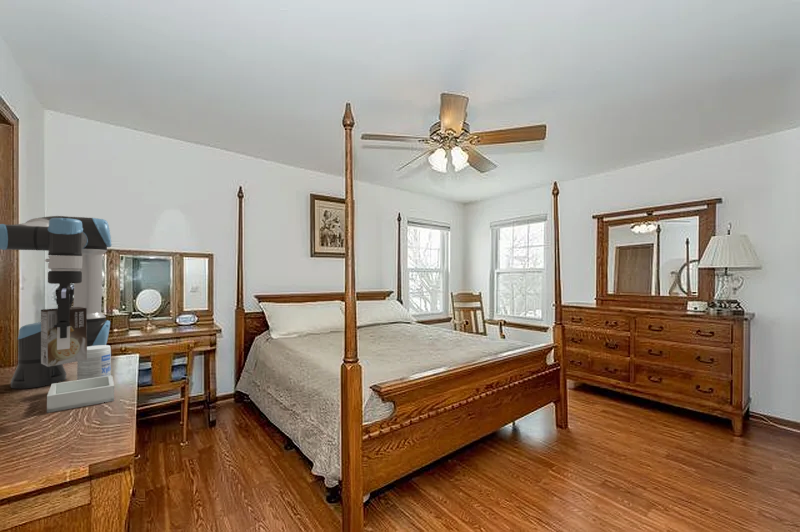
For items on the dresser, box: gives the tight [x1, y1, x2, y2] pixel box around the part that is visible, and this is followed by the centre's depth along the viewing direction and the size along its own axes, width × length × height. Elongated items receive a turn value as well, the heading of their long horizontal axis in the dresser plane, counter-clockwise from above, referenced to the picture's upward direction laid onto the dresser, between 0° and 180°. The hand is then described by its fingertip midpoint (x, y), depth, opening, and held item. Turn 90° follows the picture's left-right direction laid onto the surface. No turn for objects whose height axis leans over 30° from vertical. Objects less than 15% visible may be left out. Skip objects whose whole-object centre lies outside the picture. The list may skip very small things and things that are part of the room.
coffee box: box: [40, 306, 87, 367], centre depth 109 cm, size 9×6×16 cm
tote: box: [46, 374, 115, 414], centre depth 121 cm, size 16×16×5 cm
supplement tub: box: [76, 344, 112, 380], centre depth 134 cm, size 10×10×15 cm
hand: (64, 346), depth 109 cm, fingers closed on coffee box, 7 cm apart
